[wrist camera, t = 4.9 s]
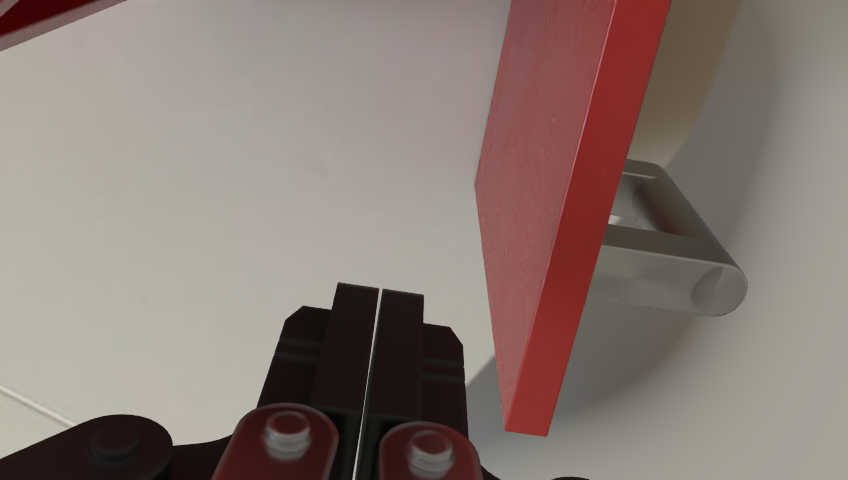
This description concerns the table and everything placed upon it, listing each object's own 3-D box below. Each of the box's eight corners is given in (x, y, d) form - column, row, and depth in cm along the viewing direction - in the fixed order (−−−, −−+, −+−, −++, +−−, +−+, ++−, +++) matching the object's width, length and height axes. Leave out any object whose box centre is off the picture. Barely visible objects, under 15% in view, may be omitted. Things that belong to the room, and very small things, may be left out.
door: (775, -308, 25) (1222, -547, 11) (624, 209, 33) (771, 469, 18) (582, -346, 25) (780, -645, 10) (474, 185, 32) (504, 431, 18)
